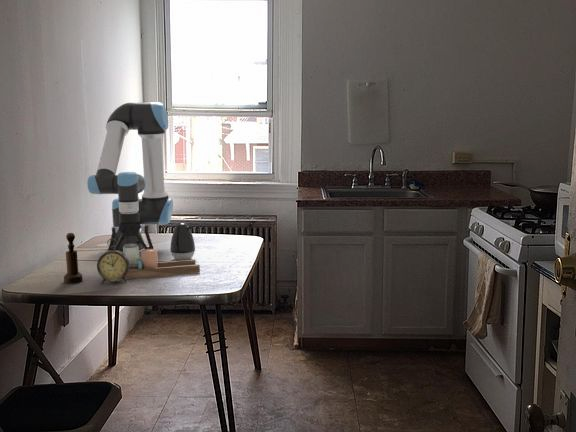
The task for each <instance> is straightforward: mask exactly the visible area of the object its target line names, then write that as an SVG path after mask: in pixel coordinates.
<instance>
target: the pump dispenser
mask: <svg viewBox="0 0 576 432" xmlns="http://www.w3.org/2000/svg"><path fill="white" fill-rule="evenodd" d="M194 228H195V225H190V226H188V225H187V223H184V222H181V223H178V224H177V225H176V226H175V227H174V230H173V233H172V235H171V241H170V247H169V248H170V249H169V250H170V253H171V255H172V257H173V259H175V260H176V261H182V260H191V259H192V258H193V257H194V255H195V252H196V244H195V240H194V236H193V233H192V231H191V230H192V229H194Z"/></svg>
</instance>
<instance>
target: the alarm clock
mask: <svg viewBox="0 0 576 432" xmlns="http://www.w3.org/2000/svg"><path fill="white" fill-rule="evenodd" d="M110 240H115V239H111V238H110V239H108V240H107V243H106V244H107V246H108V248H109V247H110V246H109V243H110ZM115 241H116V240H115ZM116 245H117V241H116ZM116 245H115V246H116ZM115 246H114V247H115ZM114 247H113V246H111V250H110V251H108V250H106V251H105V252H104V253H102V255H101V254H100V256H99V258H98V260H97V264H96V269H97V273H98V275H99V276H100V277H101V278H102V281H101V284H102V285H103V284H104V282H105V281H108V282H118V281H120V280H123V281H124V283H126V284H127V283H128V281H127V279H125V278H124V276H125V275H126V274H127V272H128V270H129V260H128V258H127V256H126V255H125V254H124V253H123V251H118V250H114V249H113V248H114Z"/></svg>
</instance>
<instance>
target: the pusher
mask: <svg viewBox="0 0 576 432" xmlns="http://www.w3.org/2000/svg"><path fill="white" fill-rule="evenodd" d="M136 259H137V265H134V266H129V268H137V269H142V261H141V257H139V258H136Z"/></svg>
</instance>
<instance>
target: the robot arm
mask: <svg viewBox="0 0 576 432" xmlns="http://www.w3.org/2000/svg"><path fill="white" fill-rule="evenodd" d="M168 129H169V116H168V111H167V109H166V106H165V104H163V103H162V102H154V101H150V102H126V103H123V104H121V105H119V106H118V107H116V109H114V110H113V112H112V113H111V114H110V115H109V117H108V119H107V121H106V124H105V130H106V135H105V139H104V142H103V146H102V148H101V149H102V150H101V153H100V157H99V162H98V164H97V165H98V166H97V169H96V172H95V173H96V174H93V175H89V176H88V177H87V183H86V184H87V190H88V192H89V193H90V194H92V195H117V198H114V199H113V200H112V202H111V211H112V212H111V213H112V226H111V235H110V239H115V240H116V241H117V245H116V241H115V240H109V243H108V245H109V246H110V247H109V246H108V248H107V251H110V250H111V246H113V247H114V246H115V245H116V246H115V247H114V248H113V249H114V250H118V251H121V252H123V247H124V245H125V244H137V246H139V250H142V249H143V248H144V249H143V250H145V249H154V245H153V242H152V239H151V237H150V233H149V226H148V225H151V226H152V225H154V226H155V225H158V226H160V225H167V224H169V223H170V221H171V219H172V217H173V209H174V202H173V198H170V197H169V193H168V192H166V190H165V189H166V188H165V177H164V175H165V173H164V159H163V157H164V156H163V155H164V153H163V139H162V137H163V136H164V135H165V134H166V132H165V131H166V130H168ZM132 130H133V131H134V130H136V131H137V135H138V136H139V137H140V138H141V146H142V147H141V148H142V161H143V162H142V163H143V175H142V174H140V173H139V174H138V173H137V172H135V171H124V172H123V171H122V172H119V173H118V174H116V173H117V170H118V166H119V162H120V158H121V153H122V149H123V147H124V146H123V145H124V141H125V138H126V136H127V135H128V134H129V131H132ZM143 191H144V192H143ZM142 192H143V193H142ZM140 193H142V195H141V198H140V197H139V194H140ZM141 229H142V231H143V232H144V235H145V237H146V240H147V243H148V246H147V244H146V243H145V239H144V238H143V237H144V236H143V235H142V233H141Z"/></svg>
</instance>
